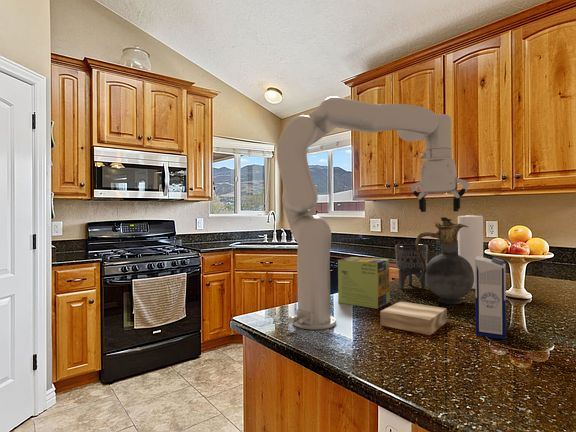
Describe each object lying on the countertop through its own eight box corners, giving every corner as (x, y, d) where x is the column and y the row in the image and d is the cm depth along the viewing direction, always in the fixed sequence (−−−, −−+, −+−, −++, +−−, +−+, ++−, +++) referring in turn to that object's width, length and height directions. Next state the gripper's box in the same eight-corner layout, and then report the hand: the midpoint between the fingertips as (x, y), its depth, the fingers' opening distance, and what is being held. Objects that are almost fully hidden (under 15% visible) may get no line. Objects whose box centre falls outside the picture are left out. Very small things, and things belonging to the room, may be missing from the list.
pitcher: (473, 308, 120) (472, 217, 119) (413, 302, 129) (412, 217, 129) (475, 300, 129) (474, 216, 129) (419, 295, 139) (417, 216, 138)
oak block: (430, 335, 95) (430, 319, 95) (380, 325, 104) (380, 311, 104) (446, 322, 106) (446, 308, 106) (400, 313, 115) (400, 301, 115)
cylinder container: (453, 285, 156) (452, 215, 156) (471, 283, 159) (470, 214, 159) (470, 289, 147) (469, 215, 147) (488, 287, 150) (488, 214, 150)
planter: (433, 286, 154) (432, 244, 153) (420, 292, 144) (420, 247, 144) (403, 283, 162) (403, 243, 162) (390, 288, 153) (389, 245, 152)
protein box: (378, 309, 121) (377, 262, 121) (337, 302, 130) (337, 259, 130) (390, 302, 129) (389, 259, 129) (351, 297, 139) (350, 256, 138)
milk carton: (477, 327, 100) (476, 255, 100) (506, 331, 97) (505, 256, 97) (475, 335, 94) (474, 258, 94) (506, 339, 91) (505, 259, 91)
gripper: (406, 157, 114) (407, 212, 115) (466, 151, 104) (467, 211, 104) (414, 160, 120) (415, 211, 121) (471, 154, 110) (472, 211, 110)
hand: (439, 211), depth 112 cm, fingers open, 9 cm apart
